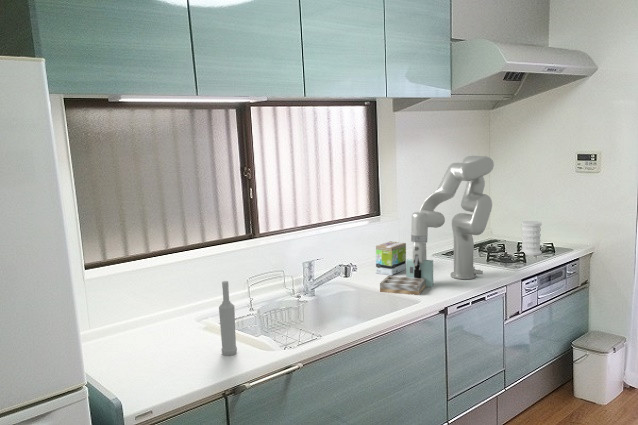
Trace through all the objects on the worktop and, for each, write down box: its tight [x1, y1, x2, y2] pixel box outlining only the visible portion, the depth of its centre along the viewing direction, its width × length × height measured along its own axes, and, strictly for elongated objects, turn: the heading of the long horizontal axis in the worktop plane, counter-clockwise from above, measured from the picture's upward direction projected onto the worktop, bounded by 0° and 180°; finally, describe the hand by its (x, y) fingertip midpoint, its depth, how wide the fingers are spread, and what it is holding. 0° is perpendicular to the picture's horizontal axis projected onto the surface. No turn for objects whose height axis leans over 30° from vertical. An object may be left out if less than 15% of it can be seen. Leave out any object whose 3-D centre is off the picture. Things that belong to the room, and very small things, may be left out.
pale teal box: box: [405, 258, 434, 288], centre depth 261 cm, size 12×4×12 cm, turn 67°
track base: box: [379, 275, 426, 296], centre depth 256 cm, size 18×14×4 cm
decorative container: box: [519, 220, 543, 256], centre depth 318 cm, size 12×12×18 cm
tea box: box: [375, 241, 407, 276], centre depth 288 cm, size 15×10×15 cm, turn 143°
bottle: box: [218, 280, 238, 357], centre depth 186 cm, size 5×5×25 cm
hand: (418, 276), depth 261 cm, fingers open, 3 cm apart
